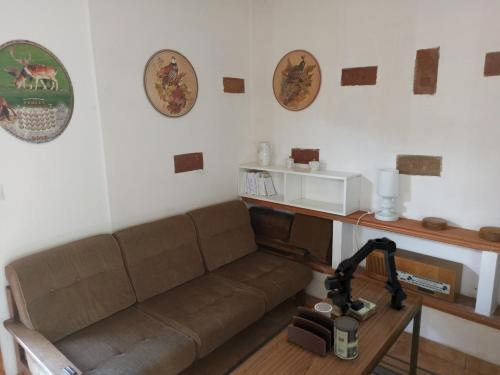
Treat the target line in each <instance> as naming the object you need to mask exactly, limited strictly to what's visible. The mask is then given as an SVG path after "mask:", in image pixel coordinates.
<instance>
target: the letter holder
mask: <svg viewBox="0 0 500 375" xmlns="http://www.w3.org/2000/svg"><path fill="white" fill-rule="evenodd" d="M334 320H335V319H333V318H332V317H328V316H326V315H324V314H321V313H319V312H316V310H314V309H310V308H307V307H304V306H303V307H302V306H297V316H296V315H294V316H293V317H292V325H291V324H289V325H287V327H286V328H287V329H286V330H287V332H286V333H287V334H286V336H287V337H286V338H287V339H286V340H288V341H289V342H292V343H294V344H295V345H298V346H300V347H301V348H304V349H306V350H308V351H310V352H312V353H315V354H317V355H319V356H321V357H323V358H326V357H327V356H328V355H329V354H330V353H331V352H332V351H333V350H334Z"/></svg>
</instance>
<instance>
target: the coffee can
mask: <svg viewBox="0 0 500 375" xmlns="http://www.w3.org/2000/svg"><path fill="white" fill-rule="evenodd" d="M333 320H334V348H333V353H334V354H335V356H337V357H338V358H340V359H343V360H353V359H356V357H357V356H358V348H359V347H358V346H359V345H358V344H359V342H358V341H359V340H358V339H359V322H358V320H356V318H354V317H353V318H352V316H346V315H345V316H344V315H343V316H339V317H338V316H337V317H336V318H335V319H333Z"/></svg>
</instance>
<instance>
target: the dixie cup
mask: <svg viewBox="0 0 500 375" xmlns="http://www.w3.org/2000/svg"><path fill="white" fill-rule="evenodd" d="M314 309H315V310H314V311H316V312H319V313H321V314H324V315H326V316H328V317H330V318H332V317H331V316H332V313H331V310H332V306H331V305H329V304H328V302H319V303H316V304H315V305H314Z"/></svg>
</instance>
